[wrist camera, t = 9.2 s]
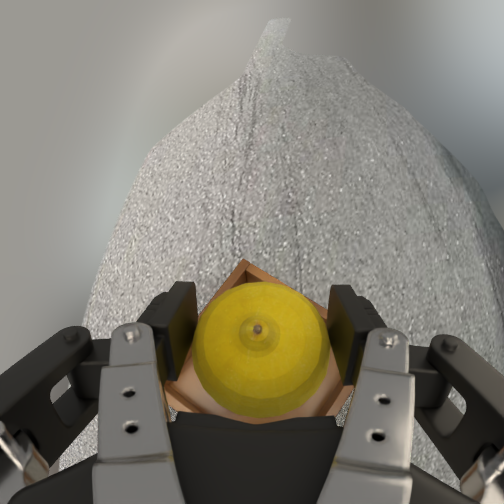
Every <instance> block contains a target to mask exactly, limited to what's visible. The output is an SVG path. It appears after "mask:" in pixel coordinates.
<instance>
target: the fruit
mask: <svg viewBox="0 0 504 504" xmlns="http://www.w3.org/2000/svg"><path fill="white" fill-rule="evenodd" d="M330 348H331V344H330V340H329V336H328V332H327V328H326V324H325V322H324V320H323V319H322V317H321V315H320V314H319V312H318V310H317V308H316V307H315V306H314V305H313V304H312V303H311V302H310V301H309V300H307V299H306V298H305V297H304V296H303V295H302V294H301V293H299V292H297V291H295V290H293V289H291V288H289V287H287V286H285V285H280V284H275V283H270V282H254V283H245V284H242V285H239V286H237V287H234V288H231V289H229V290H227V291H225V292H224V293H223V294H221V295H220V296H219V297H217V298H216V299H214V300H213V301H212V302H211V303H210V304H209V306H208V307H207V308H206V310H205V311H204V312H203V314H202V315H201V316H200V318H199V321H198V324H197V327H196V330H195V332H194V337H193V342H192V348H191V351H192V359H193V366H194V370H195V373H196V375H197V377H198V379H199V381H200V383H201V385H202V387H203V389H204V390H205V391H206V392H207V393H208V394H209V395H210V396H211V397H212V398H213V399H214V400H215V401H216V402H217V403H218V404H219V405H221V406H222V407H224V408H226V409H228V410H230V411H232V412H233V413H235V414H238V415H243V416H248V417H253V418H265V417H274V416H280V415H283V414H285V413H287V412H289V411H292V410H294V409H296V408H298V407H300V406H301V405H303V404H304V403H305V402H306V401H307V400H308V399H309V398H310V397H312V396H313V395H314V394H315V393H316V391H317V390H318V388H319V387H320V385H321V383H322V382H323V380H324V378H325V376H326V374H327V369H328V364H329V359H330Z"/></svg>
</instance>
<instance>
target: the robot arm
mask: <svg viewBox="0 0 504 504" xmlns="http://www.w3.org/2000/svg"><path fill="white" fill-rule="evenodd" d="M197 324H198V311H197V299H196V287H195V283H194V282H183V281H176V282H175V283H174V285H173V286H172V287H171V289H170V290H169V292H163V293H161V294H159V295H158V296H156V297H155V298H154V299H153V300H152V301H151V303H150V305H148V307H147V308H146V310H145V311H144V312H143V313H142V315H141V316H140V317H139V319H138V320H137V321H136V322H134V323H127V324H124V325H121V326H119V327H117V328H116V329H115V330H114V331H113V333H112V336H111V338H110V339H95V340H92V338H91V335H90V332H89V330H88V329H87V328H85V327H82V326H71V327H67V328H64V329H62V330H60V331H59V332H58V333H56V334H55V335H53V336H52V337H50V338H49V339H48V340H46V341H45V342H44V343H42V344H41V345H39V346H38V347H37V348H35V349H34V350H33V351H31V352H30V353H29V354H27V355H26V356H25V357H23V358H22V359H21V360H19V361H18V362H17V363H15V364H14V365H13V366H11V367H10V368H9V369H8V370H6V371H5V372H4V373H2V374H1V375H0V504H504V376H503V375H502V374H501V373H500V372H498V371H497V370H496V369H495V368H494V367H493V366H492V365H490V364H489V363H488V362H487V361H486V360H485V359H484V358H482V357H481V356H480V355H479V354H478V353H477V352H475V351H474V350H473V349H472V348H471V347H469V346H468V345H467V344H466V343H465V342H463V341H462V340H461V339H459V338H457V337H455V336H452V335H446V334H442V335H437V336H435V337H433V338H432V340H431V343H430V346H429V347H421V346H413V345H409V341H408V338H407V337H406V336H405V335H404V334H403V333H402V332H400V331H398V330H395V329H391V328H387V326H386V325H385V323H384V321H383V320H382V318H381V317H380V315H378V312H377V311H376V309H375V308H374V306H373V305H372V303H371V302H370V301H369V300H367V299H366V298H364V297H363V296H357V295H356V294H355V292H354V290H353V289H352V287H351V286H350V285H332V286H331V289H330V296H329V304H328V312H327V321H326V328H327V332H328V336H329V340H330V344H331V348H332V351H333V354H334V357H335V361H336V364H337V367H338V371H339V374H340V377H341V381H342V384H343V386H350V385H353V386H354V392H353V395H352V399H351V402H350V406H349V409H348V412H347V416H346V419H345V422H344V425H343V427H340V426H337V424H336V420H335V415H331V416H315V417H295V418H290V419H285V420H280V421H275V422H270V423H264V424H250V423H246V422H241V421H237V420H233V419H229V418H226V417H222V416H218V415H212V414H202V413H192V412H184V411H178V414H177V417H176V420H175V421H171V416H170V412H169V407H168V402H167V397H166V392H165V388H164V385H165V383H166V380H168V381H176V382H177V380H178V378H179V375H180V373H181V370H182V367H183V365H184V362H185V359H186V357H187V354H188V352H189V349H190V346H191V344H192V341H193V337H194V332H195V330H196V327H197ZM66 375H67V377H68V380H69V382H70V384H71V387H70V388H69V389H68V390H67V391H66V392H65V393H64V394H63V395H62V396H61V397H60V398H59V399H58V400H56V402H54V403H53V404H52V402H51V400H50V392H51V389H52V388H53V387H54V386H55V385H56V384H57V383H58V382H59V381H60V380H61V379H62V378H63V377H64V376H66ZM452 386H453V387H454V388H455V389H456V390H457V391H458V392H459V393H460V395H461V396H462V397H463V398H464V399H465V401H466V412H465V414H464V415H463V414H462V413H461V412H460V411H459V409H458V408H457V407H456V406H455V405H454V404H453V403H452V402H451V400H450V399H449V398H448V395H449V393H450V390H451V388H452ZM97 414H98V453H96V454H94V455H93V456H91V457H89V458H87V459H85V460H83V461H81V462H79V463H77V464H75V465H73V466H70V467H68V468H66V469H64V470H62V471H60V472H58V473H56V474H53V475H51V476H49V468H50V467H51V466H52V465H53V464H54V463H55V461H56V460H57V459H58V458H59V457H60V456H61V455H62V453H63V452H64V451H65V450H66V449H67V448H68V447H69V445H70V444H71V443H72V442H73V441H74V440H75V439H76V437H77V436H78V435H79V434H80V433H81V432H82V431H83V430H84V428H85V427H86V426H87V425H88V424H89V423H90V422H91V420H92V419H93V418H94V417H95V416H96V415H97ZM414 417H415V419H416V420H417V422H418V423H419V424H420V426H421V427H422V428H423V430H424V431H425V432H426V434H427V435H428V437H429V438H430V439H431V441H432V442H433V443H434V445H435V446H436V448H437V449H438V450H439V452H440V453H441V454H442V456H443V457H444V459H445V460H446V461H447V463H448V464H449V466H450V467H451V469H452V470H453V471H454V473H455V474H456V476H457V477H458V478H459V480H460V491H461V492H459V491H457V490H456V489H454V488H452V487H450V486H449V485H447V484H445V483H443V482H442V481H440V480H438V479H437V478H435V477H433V476H432V475H430V474H428V473H427V472H425V471H423V470H422V469H420V468H419V467H417V466H415V465H414V464H412V463H411V462H410V458H411V448H412V438H413V424H414ZM48 476H49V477H48Z"/></svg>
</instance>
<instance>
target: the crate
mask: <svg viewBox="0 0 504 504" xmlns="http://www.w3.org/2000/svg"><path fill="white" fill-rule="evenodd" d="M254 282H270V283H275V284H280V285H285V286H287V285H286V284H284V283H282V282H281V281H279V280H277V279H276V278H274V277H273V276H271V275H269V274H268V273H266V272H264V271H263V270H261V269H259V268H258V267H256V266H255V265H253V264H250V262H248V261H247V260H245V259H242V260H241V262H240V263H239V264H238V265H237V267H236V268H235V269H234V271H233V272H232V273H231V274H230V276H229V277H228V278H227V280H226V281H225V282H224V283H223V285H222V286H221V287H220V289H219V290H218V291H217V292H216V294H215V295H214V296H213V298H212V299H211V300H210V301H209V303H208V304H207V305H206V306H205V308H204V309H203V310H202V312H201V313H200V314H199V315H198V321H199V318H200V316H201V315H202V314H203V312H204V311H205V310H206V308H207V307H208V306H209V304H210V303H211V302H212V301H213V300H214V299H216V298H217V297H219V296H220V295H221V294H223V293H224V292H225V291H227V290H229V289H231V288H234V287H237V286H239V285H242V284H245V283H254ZM287 287H289V286H287ZM289 288H291V287H289ZM291 289H292V288H291ZM293 290H294V289H293ZM303 296H304V295H303ZM304 297H305V296H304ZM305 298H306V299H307V300H309V301H310V302H311V303H312V304H313V305H314V306H315V307H316V308H317V310H318V312H319V314H320V315H321V317H322V319H323V320H324V322H325V324H326V321H327V312H328V310H327V309H325V308H323V307H322V306H320V305H318V304H317V303H315V302H314V301H312V300H310V299H309V298H307V297H305ZM192 342H193V341H192ZM191 348H192V344H191V346H190V349H189V352H188V354H187V357H186V359H185V362H184V365H183V367H182V370H181V373H180V375H179V378H178V380H177V382H176V381H168V380H166V383H165V385H164V388H165V392H166V397H167V402H168V405H169V406H171V407H172V408H173V409H174V410H176V411H177V412H178V411H184V412H192V413H202V414H212V415H218V416H222V417H226V418H229V419H233V420H237V421H241V422H246V423H250V424H264V423H270V422H275V421H280V420H285V419H290V418H295V417H315V416H331V415H335V417H336V416H337V414H338V413H339V411H340V410H341V408H342V406H343V405H344V403H345V402H346V400H347V398H348V397H349V395H350V394H351V392H352V390H353V389H354V386H353V385H350V386H343V384H342V381H341V377H340V374H339V371H338V367H337V364H336V361H335V357H334V354H333V351H332V348H330V359H329V364H328V369H327V374H326V376H325V378H324V380H323V382H322V383H321V385H320V387H319V388H318V390H317V391H316V393H315V394H314V395H313V396H312V397H310V398H309V399H308V400H307V401H306V402H305V403H304V404H303V405H301V406H300V407H298V408H296V409H294V410H292V411H289V412H287V413H285V414H283V415H280V416H274V417H265V418H253V417H248V416H243V415H238V414H235V413H233V412H232V411H230V410H228V409H226V408H224V407H222V406H221V405H219V404H218V403H217V402H216V401H215V400H214V399H213V398H212V397H211V396H210V395H209V394H208V393H207V392H206V391H205V390H204V389H203V387H202V385H201V383H200V381H199V379H198V377H197V375H196V373H195V370H194V366H193V359H192V351H191Z"/></svg>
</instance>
